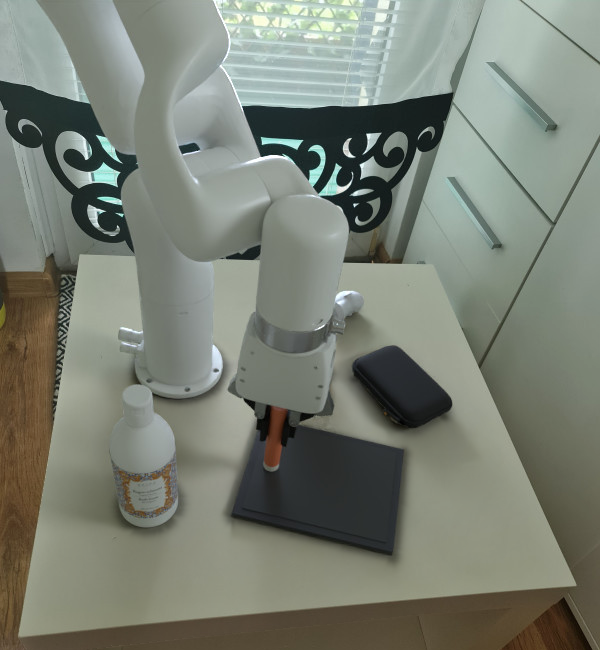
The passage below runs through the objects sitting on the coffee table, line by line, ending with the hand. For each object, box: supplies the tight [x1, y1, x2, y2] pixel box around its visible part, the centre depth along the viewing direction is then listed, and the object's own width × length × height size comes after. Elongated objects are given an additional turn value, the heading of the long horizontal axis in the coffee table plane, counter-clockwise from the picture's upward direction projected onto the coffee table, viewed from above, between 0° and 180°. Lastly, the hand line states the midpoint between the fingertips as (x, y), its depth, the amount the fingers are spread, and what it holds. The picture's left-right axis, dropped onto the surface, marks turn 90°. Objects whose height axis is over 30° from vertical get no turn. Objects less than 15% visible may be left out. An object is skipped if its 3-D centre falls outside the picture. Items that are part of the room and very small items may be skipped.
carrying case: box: [351, 344, 453, 429], centre depth 91 cm, size 11×3×15 cm
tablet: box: [231, 424, 405, 556], centre depth 80 cm, size 20×16×1 cm
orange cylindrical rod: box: [263, 405, 288, 472], centre depth 75 cm, size 2×2×12 cm
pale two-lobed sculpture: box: [332, 290, 365, 322], centre depth 101 cm, size 4×8×5 cm
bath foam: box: [108, 384, 179, 528], centre depth 67 cm, size 7×7×20 cm
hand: (275, 434), depth 75 cm, fingers closed on orange cylindrical rod, 2 cm apart
